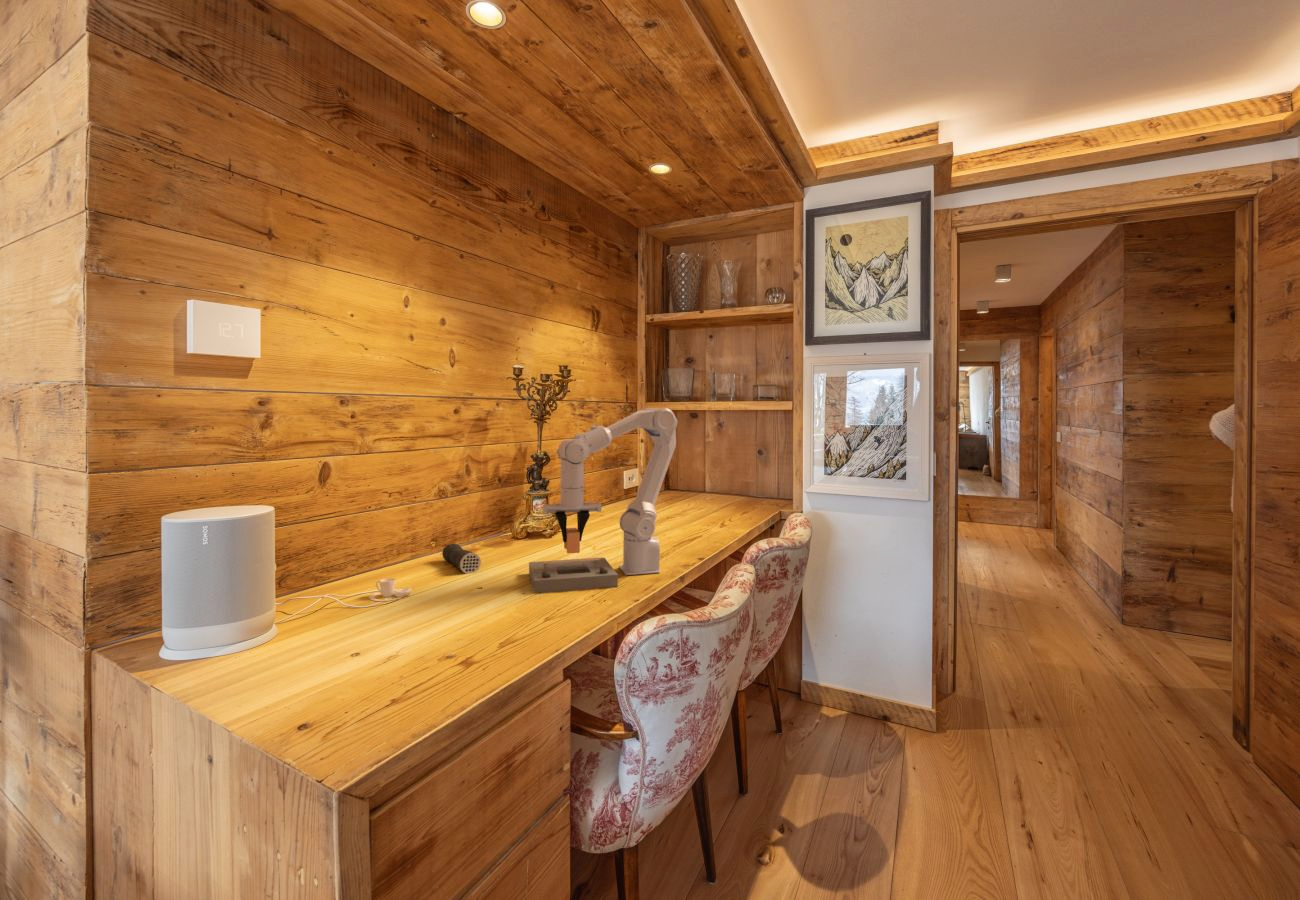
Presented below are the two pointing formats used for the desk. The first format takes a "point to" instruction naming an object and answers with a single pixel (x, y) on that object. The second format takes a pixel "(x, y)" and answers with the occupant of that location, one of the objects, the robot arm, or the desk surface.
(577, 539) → the orange rectangular block
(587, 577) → the grey slotted tray
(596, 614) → the desk surface
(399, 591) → the teacup and saucer
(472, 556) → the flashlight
